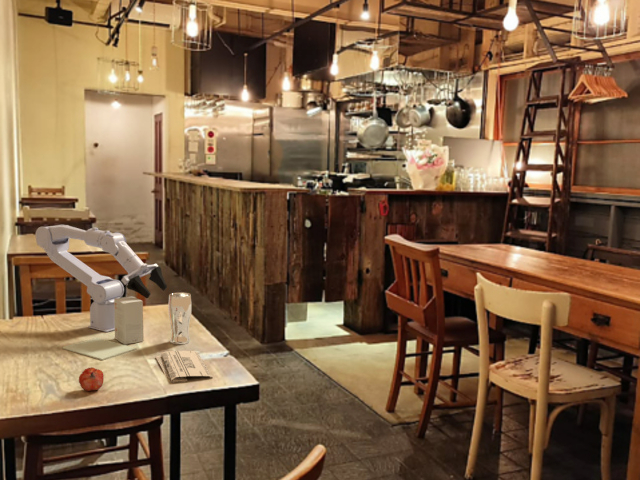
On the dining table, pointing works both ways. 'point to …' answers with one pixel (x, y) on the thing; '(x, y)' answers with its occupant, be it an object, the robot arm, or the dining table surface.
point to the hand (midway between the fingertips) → (157, 292)
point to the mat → (99, 348)
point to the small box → (128, 320)
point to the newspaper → (182, 365)
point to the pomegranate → (91, 379)
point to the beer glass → (179, 317)
